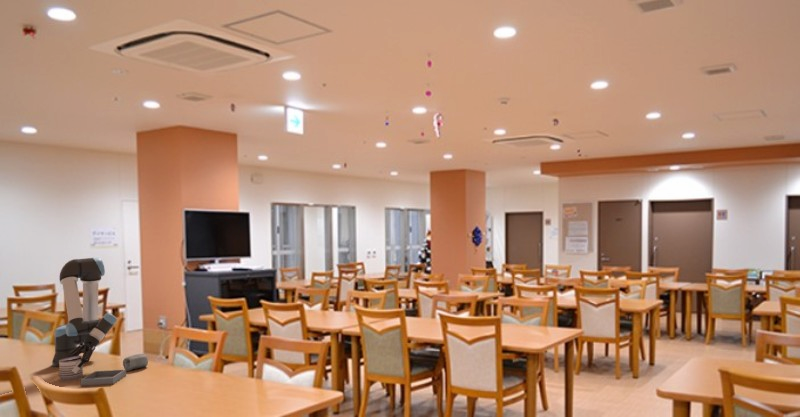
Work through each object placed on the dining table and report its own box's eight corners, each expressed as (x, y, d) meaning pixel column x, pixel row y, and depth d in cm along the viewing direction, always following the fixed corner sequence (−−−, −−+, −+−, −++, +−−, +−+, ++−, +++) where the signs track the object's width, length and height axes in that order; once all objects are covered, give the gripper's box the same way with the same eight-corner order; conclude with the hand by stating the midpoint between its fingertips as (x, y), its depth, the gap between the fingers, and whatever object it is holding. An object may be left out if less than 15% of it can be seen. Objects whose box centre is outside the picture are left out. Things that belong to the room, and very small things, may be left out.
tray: (95, 377, 324) (95, 371, 324) (126, 375, 325) (125, 369, 325) (81, 386, 307) (80, 379, 307) (113, 384, 308) (113, 377, 308)
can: (65, 383, 314) (64, 360, 315) (55, 380, 321) (55, 358, 321) (86, 377, 324) (86, 356, 324) (77, 375, 330) (76, 353, 331)
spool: (125, 367, 329) (126, 350, 334) (119, 372, 335) (121, 356, 340) (150, 368, 338) (151, 352, 343) (144, 373, 344) (144, 357, 349)
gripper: (110, 343, 328) (83, 377, 316) (88, 339, 343) (62, 371, 331) (100, 336, 324) (73, 369, 312) (79, 332, 339) (52, 364, 327)
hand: (67, 370), depth 322 cm, fingers open, 13 cm apart
